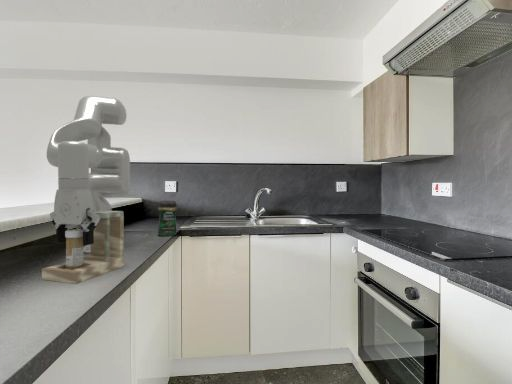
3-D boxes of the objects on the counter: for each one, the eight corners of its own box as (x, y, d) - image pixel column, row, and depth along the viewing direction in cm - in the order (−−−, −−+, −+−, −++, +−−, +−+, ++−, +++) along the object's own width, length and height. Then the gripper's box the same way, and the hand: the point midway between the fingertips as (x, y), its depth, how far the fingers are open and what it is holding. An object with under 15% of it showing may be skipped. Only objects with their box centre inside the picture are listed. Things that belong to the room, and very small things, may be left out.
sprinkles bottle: (63, 276, 84) (63, 229, 84) (81, 272, 87) (80, 228, 87) (68, 279, 81) (67, 231, 81) (86, 276, 84) (86, 230, 84)
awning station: (94, 263, 98) (93, 210, 98) (123, 266, 95) (123, 211, 94) (41, 279, 81) (41, 215, 80) (75, 283, 78) (75, 216, 77)
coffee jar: (158, 237, 149) (158, 201, 149) (157, 234, 156) (157, 200, 156) (177, 235, 152) (177, 200, 152) (176, 233, 160) (176, 200, 159)
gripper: (38, 184, 82) (40, 243, 83) (87, 185, 78) (88, 248, 79) (62, 183, 90) (63, 238, 91) (108, 185, 85) (109, 242, 86)
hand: (75, 243), depth 85 cm, fingers open, 9 cm apart
